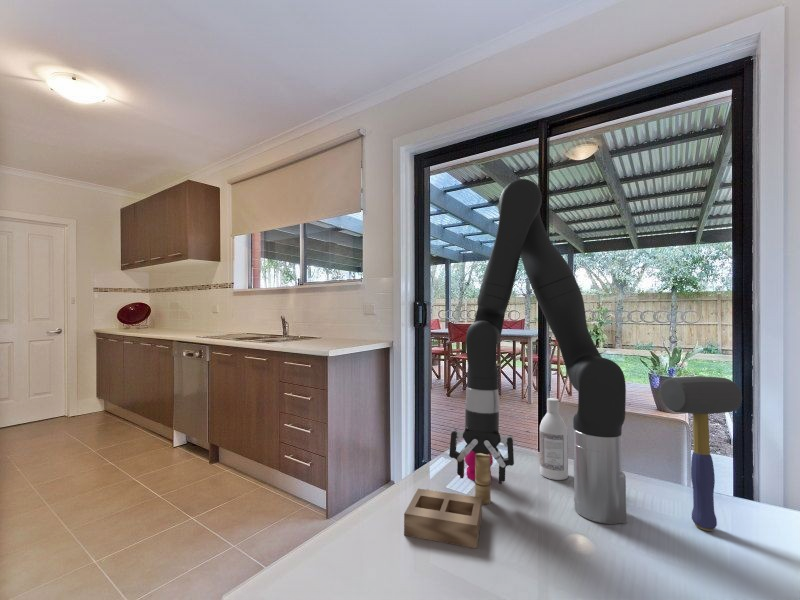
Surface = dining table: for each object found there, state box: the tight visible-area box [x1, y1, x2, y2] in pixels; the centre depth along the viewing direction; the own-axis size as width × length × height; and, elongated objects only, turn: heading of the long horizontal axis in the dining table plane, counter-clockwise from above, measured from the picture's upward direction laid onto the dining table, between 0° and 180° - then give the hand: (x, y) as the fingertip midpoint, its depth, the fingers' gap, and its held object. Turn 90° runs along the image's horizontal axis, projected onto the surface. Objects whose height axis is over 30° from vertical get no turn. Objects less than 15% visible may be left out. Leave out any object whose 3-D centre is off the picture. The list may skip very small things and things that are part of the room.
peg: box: [474, 453, 492, 505], centre depth 85 cm, size 4×4×10 cm
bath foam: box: [538, 397, 569, 481], centre depth 99 cm, size 7×7×20 cm
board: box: [403, 488, 483, 549], centre depth 74 cm, size 14×11×4 cm
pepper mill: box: [464, 451, 494, 481], centre depth 98 cm, size 7×7×20 cm
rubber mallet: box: [660, 375, 743, 532], centre depth 75 cm, size 12×8×30 cm, turn 95°
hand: (480, 479), depth 84 cm, fingers open, 8 cm apart
